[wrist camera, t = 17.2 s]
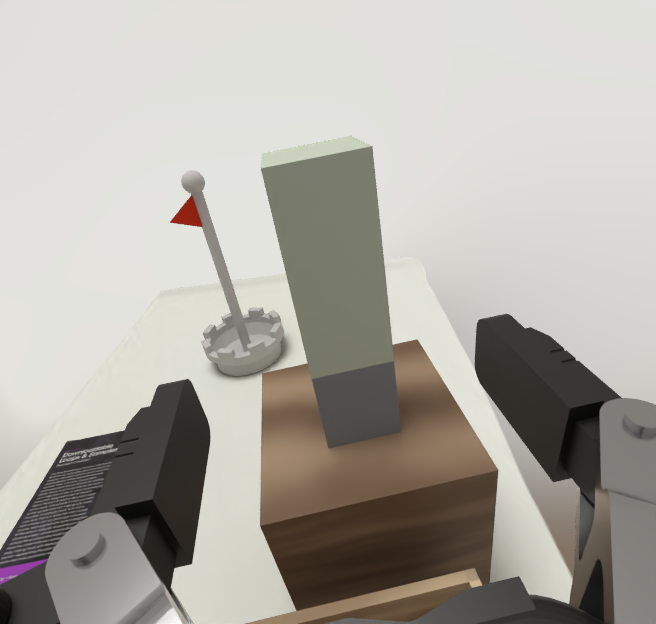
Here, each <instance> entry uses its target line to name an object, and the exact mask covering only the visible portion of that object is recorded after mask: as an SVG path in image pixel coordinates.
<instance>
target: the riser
mask: <svg viewBox="0 0 656 624" xmlns="http://www.w3.org/2000/svg"><path fill="white" fill-rule="evenodd" d="M392 346H393V355H394V365H395V375H396V385H397V395H398V405H399V414H400V424H401V432H398V433H394V434H389V435H385V436H381V437H376V438H372V439H368V440H363V441H359V442H354V443H350V444H346V445H341V446H337V447H333V448H328V445H327V441H326V437H325V433H324V429H323V424H322V420H321V416H320V412H319V408H318V404H317V399H316V395H315V391H314V387H313V383H312V379H311V375H310V370H309V366H308V364H303V365H299V366H294V367H290V368H285V369H281V370H276V371H271V372H267V373H262V435H261V503H260V527H261V529H262V531H263V534H264V536H265V538H266V541H267V543H268V545H269V548H270V550H271V552H272V554H273V557H274V559H275V561H276V564H277V566H278V568H279V571H280V573H281V575H282V578H283V580H284V582H285V585H286V587H287V589H288V592H289V594H290V596H291V599H292V601H293V603H294V606H295V608H296V610H297V611H300V610H304V609H308V608H312V607H316V606H320V605H324V604H328V603H332V602H337V601H341V600H345V599H349V598H353V597H357V596H361V595H365V594H370V593H374V592H378V591H382V590H386V589H390V588H394V587H398V586H402V585H407V584H411V583H415V582H419V581H423V580H427V579H431V578H435V577H439V576H444V575H448V574H452V573H456V572H460V571H464V570H468V569H472V568H475V570H476V572H477V574H478V576H479V579H480V581H481V583H482V585H486V584H489V581H490V568H491V555H492V543H493V530H494V517H495V504H496V492H497V479H498V469H497V467H496V466H495V464H494V462H493V461H492V459H491V458H490V456H489V454H488V453H487V451H486V450H485V448H484V446H483V445H482V443H481V441H480V440H479V438H478V437H477V435H476V433H475V432H474V430H473V429H472V427H471V425H470V424H469V422H468V420H467V419H466V417H465V416H464V414H463V412H462V411H461V409H460V407H459V406H458V404H457V403H456V401H455V399H454V398H453V396H452V395H451V393H450V391H449V390H448V388H447V386H446V385H445V383H444V382H443V380H442V378H441V377H440V375H439V374H438V372H437V370H436V369H435V367H434V365H433V364H432V362H431V361H430V359H429V357H428V356H427V354H426V352H425V351H424V349H423V348H422V346H421V344H420V343H419V341H418V340H413V341H408V342H404V343H399V344H395V345H392Z"/></svg>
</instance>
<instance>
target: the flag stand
mask: <svg viewBox="0 0 656 624" xmlns="http://www.w3.org/2000/svg"><path fill="white" fill-rule="evenodd" d="M181 182H182V186H183V188H184V189H185V190H186V191H188V192H189V193H191V197H190V198H189V199H188V200H187V202H186V203H185V204H184V205H183V207H182V208H181V209H180V210H179V212H178V213H177V214H176V215H175V217H174V218H173V219H172V220H171V222H170V223H177V224H184V225H192V226H199V227H202V228H203V231H204V234H205V237H206V240H207V243H208V246H209V249H210V252H211V255H212V258H213V261H214V264H215V267H216V270H217V273H218V276H219V279H220V282H221V285H222V288H223V291H224V294H225V297H226V300H227V303H228V305H229V308H230V311H231V313H229V314H227V315H225V316H223V317H222V320H223V323H222V324H220V325H219V326H217V327H215V325H209V326H208V327H207V328H206V329H205V331H204V332H203V335H204V338H205V340H204V341H201V343H202V346H203V348H204V351H205V353H206V356H207V358H208V359H209V360H210V361H212V362H214V363H217V366H218V368H219V370H220V371H221V372H223V373H225V374H227V375H231V376H244V375H250V374H253V373H256V372H259V371H261V370H263V369H265V368H267V367H269V366H270V365H271V364H273V363H274V362H275V361H276V360H277V359H278V357H279V356H280V354H281V351H282V346H281V340H282V338H283V336H284V330H283V326H282V323H281V319H280V316H279V314H278V313H277V312H275V311H271V312H269V313H268V314H265V313H264V311H263V308H249V310H248V312H249V314H247V315H242V313H241V310H240V307H239V304H238V301H237V298H236V295H235V292H234V289H233V285H232V282H231V279H230V276H229V273H228V270H227V267H226V264H225V261H224V257H223V255H222V251H221V248H220V245H219V242H218V239H217V236H216V233H215V230H214V227H213V223H212V220H211V217H210V214H209V211H208V208H207V205H206V201H205V198H204V196H203V192H202V190H203V188H204V185H205V181H204V178H203V176H202V175H201V174H200V173H198V172H197V171H187V172H186V173H185V174H184V175H183V176H182V180H181Z"/></svg>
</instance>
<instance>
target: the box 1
mask: <svg viewBox="0 0 656 624" xmlns="http://www.w3.org/2000/svg"><path fill="white" fill-rule="evenodd" d="M123 434H124V431H120V432H115V433H110V434H105V435H100V436H95V437H90V438H85V439H81V440H71V441H67V442H66V444H65V445H64V447H63V449H62V450H61V452H60V453H59V455H58V457H57V458H56V460H55V462H54V463H53V465H52V467H51V468H50V470H49V471H48V473H47V475H46V476H45V478H44V480H43V481H42V483H41V484H40V486H39V488H38V489H37V491H36V493H35V494H34V496H33V498H32V499H31V501H30V502H29V504H28V506H27V507H26V509H25V511H24V512H23V514H22V516H21V517H20V519H19V520H18V522H17V524H16V525H15V527H14V528H13V530H12V532H11V533H10V535H9V537H8V538H7V540H6V542H5V543H4V545H3V547H2V548H1V550H0V584H2V583H4V582H6V581H8V580H10V579H12V578H14V577H16V576H18V575H20V574H22V573H24V572H26V571H28V570H30V569H32V568H34V567H36V566H38V565H40V564H42V563H43V562H45V561H47V560H48V558H49V556H50V554H51V552H52V550H53V549H54V547H55V546H56V544H57V543H58V542H59V541H60V539H61V538H62V537H63V536H64V535H65V534H66V533H67V532H68V531H69V530H70V529H72V528H73V527H74V526H75V525H77V524H78V523H80V522H81V521H83V520H85V519H87V518H89V517H90V515H91V512H92V510H93V508H94V505H95V503H96V500H97V498H98V495H99V493H100V490H101V488H102V485H103V483H104V481H105V478H106V476H107V473H108V471H109V468H110V466H111V463H112V461H113V460H114V459H115V453H116V451H117V449H118V446H119V445H121V442H120V441H121V439H122V436H123Z"/></svg>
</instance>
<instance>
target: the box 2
mask: <svg viewBox="0 0 656 624" xmlns="http://www.w3.org/2000/svg"><path fill="white" fill-rule="evenodd" d="M261 171H262V174H263V179H264V183H265V187H266V191H267V196H268V199H269V204H270V208H271V212H272V216H273V221H274V225H275V229H276V233H277V237H278V242H279V245H280V250H281V254H282V258H283V262H284V266H285V271H286V275H287V279H288V283H289V287H290V291H291V296H292V300H293V304H294V308H295V312H296V316H297V320H298V325H299V329H300V333H301V337H302V341H303V345H304V350H305V354H306V358H307V362H308V366H309V370H310V375H311V379H312V383H313V387H314V391H315V395H316V399H317V404H318V408H319V412H320V416H321V420H322V424H323V429H324V433H325V437H326V441H327V445H328V448H333V447H337V446H341V445H346V444H350V443H354V442H359V441H363V440H368V439H372V438H376V437H381V436H385V435H389V434H394V433H398V432H401V424H400V414H399V405H398V395H397V385H396V375H395V365H394V355H393V346H392V336H391V326H390V316H389V306H388V296H387V287H386V277H385V267H384V257H383V247H382V238H381V228H380V219H379V208H378V198H377V189H376V179H375V169H374V159H373V149H372V146H371V145H369V144H367V143H365V142H362V141H360V140H358V139H356V138H354V137H352V136H349V137H344V138H338V139H333V140H328V141H324V142H318V143H313V144H308V145H303V146H298V147H293V148H288V149H283V150H278V151H273V152H268V153H263V154H262V161H261Z"/></svg>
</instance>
